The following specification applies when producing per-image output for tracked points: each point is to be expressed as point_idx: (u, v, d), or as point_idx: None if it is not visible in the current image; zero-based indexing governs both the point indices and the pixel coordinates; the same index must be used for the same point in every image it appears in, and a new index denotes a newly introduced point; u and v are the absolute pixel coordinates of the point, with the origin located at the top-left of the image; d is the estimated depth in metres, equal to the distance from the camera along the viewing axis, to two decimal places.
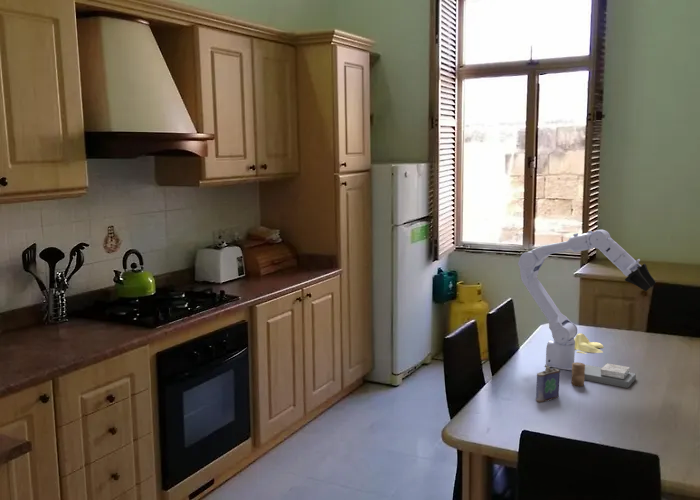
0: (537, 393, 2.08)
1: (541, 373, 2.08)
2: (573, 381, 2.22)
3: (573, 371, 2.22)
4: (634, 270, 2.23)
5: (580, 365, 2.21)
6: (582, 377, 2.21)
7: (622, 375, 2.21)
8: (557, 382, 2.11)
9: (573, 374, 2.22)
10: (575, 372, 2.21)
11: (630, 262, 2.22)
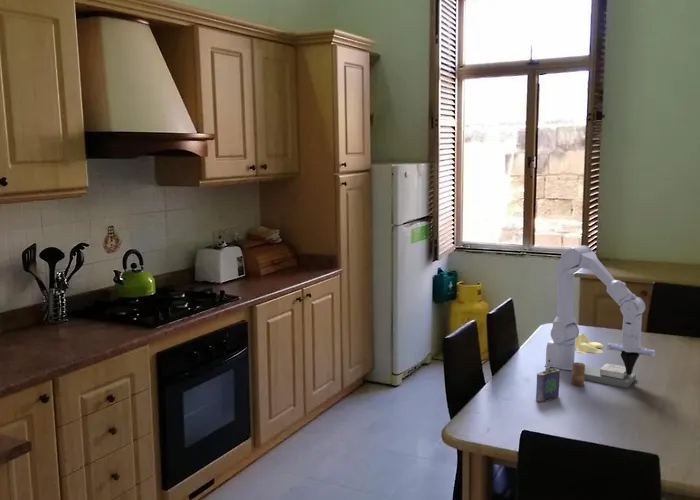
0: (537, 393, 2.08)
1: (541, 373, 2.08)
2: (573, 381, 2.22)
3: (573, 371, 2.22)
4: (628, 352, 2.23)
5: (580, 365, 2.21)
6: (582, 377, 2.21)
7: (621, 375, 2.21)
8: (557, 382, 2.11)
9: (573, 374, 2.22)
10: (575, 372, 2.21)
11: (622, 345, 2.22)
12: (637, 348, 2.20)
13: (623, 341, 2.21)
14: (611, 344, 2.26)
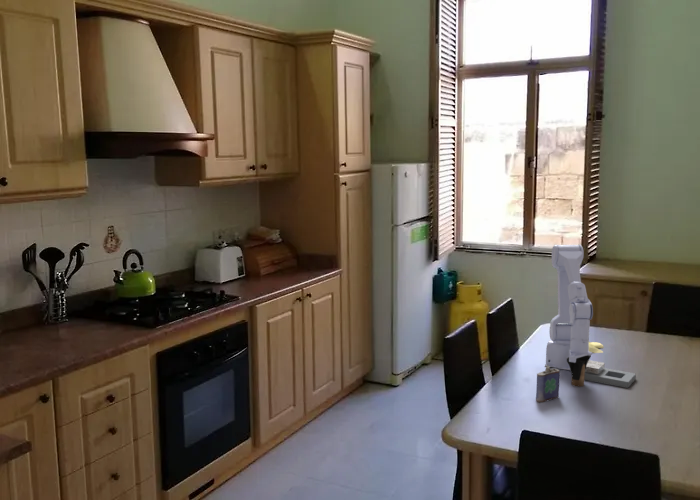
0: (537, 393, 2.08)
1: (541, 373, 2.08)
2: (573, 381, 2.22)
3: None
4: None
5: None
6: (582, 377, 2.21)
7: (596, 370, 2.26)
8: (557, 382, 2.11)
9: None
10: None
11: (582, 351, 2.18)
12: None
13: (584, 347, 2.18)
14: (573, 355, 2.16)
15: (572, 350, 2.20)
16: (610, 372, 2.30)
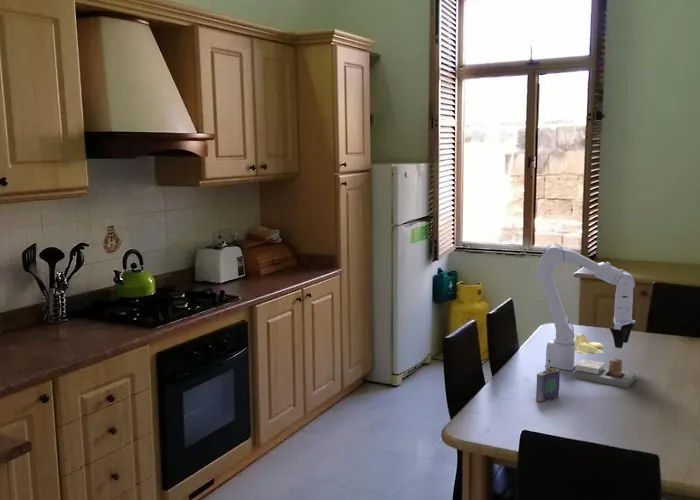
0: (537, 393, 2.08)
1: (541, 373, 2.08)
2: None
3: (610, 367, 2.25)
4: None
5: (617, 361, 2.25)
6: (619, 373, 2.25)
7: (596, 370, 2.26)
8: (557, 382, 2.11)
9: (610, 370, 2.25)
10: (612, 368, 2.25)
11: (626, 319, 2.30)
12: None
13: (628, 315, 2.30)
14: (618, 323, 2.28)
15: (616, 318, 2.32)
16: None
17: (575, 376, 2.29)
